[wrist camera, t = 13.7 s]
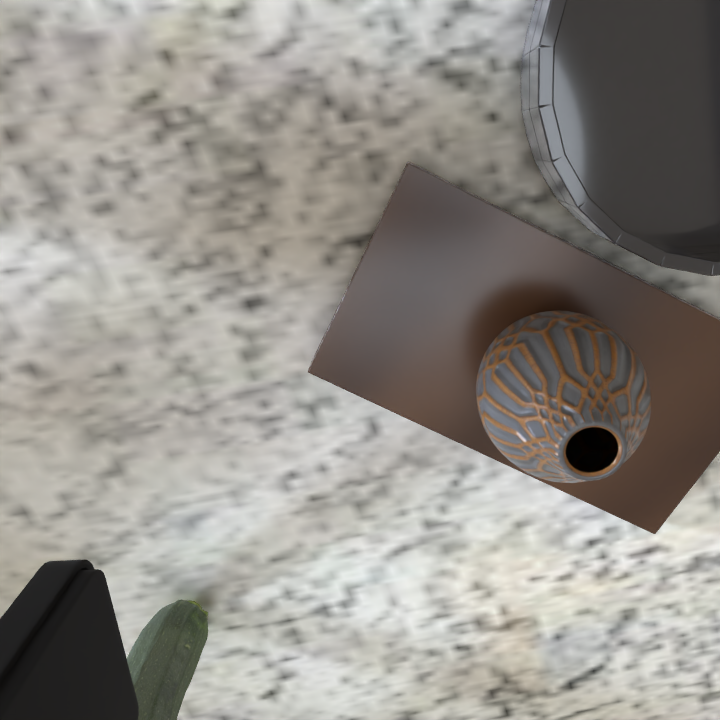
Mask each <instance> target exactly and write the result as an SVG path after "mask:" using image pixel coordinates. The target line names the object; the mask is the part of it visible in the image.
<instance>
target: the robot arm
mask: <svg viewBox="0 0 720 720" xmlns="http://www.w3.org/2000/svg"><path fill="white" fill-rule="evenodd" d="M138 716H139V706H138V701H137V697H136V693H135V689H134V685H133V682H132V678H131V674H130V670H129V666H128V662H127V659H126V655H125V651H124V647H123V643H122V639H121V636H120V632H119V628H118V624H117V620H116V616H115V613H114V609H113V605H112V601H111V597H110V593H109V590H108V586H107V582H106V578H105V575H104V573H103V572H102V571H101V570H98V569H97V570H94V567H93V565H92V564H91V562H90V561H88V560H67V561H49V562H47V563H45V564H44V565H43V566H41V567H40V569H39V570H38V571H37V572H36V574H35V575H34V576H33V578H32V579H31V580H30V581H29V583H28V584H27V585H26V587H25V588H24V589H23V590H22V592H21V593H20V594H19V596H18V597H17V598H16V599H15V601H14V602H13V603H12V605H11V606H10V607H9V608H8V610H7V611H6V612H5V614H4V615H3V616H2V617H1V619H0V720H138Z"/></svg>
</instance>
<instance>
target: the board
mask: <svg viewBox="0 0 720 720" xmlns="http://www.w3.org/2000/svg"><path fill="white" fill-rule="evenodd" d="M546 311H570V312H576V313H580V314H584V315H587V316H590V317H592V318H595V319H597V320H599V321H601V322H602V323H604V324H606V325H607V326H609V327H610V328H612V329H613V330H614V331H616V332H617V333H618V334H619V335H620V336H622V337H623V338H624V339H625V340H626V341H627V343H628V344H629V345H630V346H631V347H632V348H633V350H634V351H635V352H636V354H637V356H638V357H639V359H640V361H641V363H642V365H643V367H644V369H645V372H646V375H647V378H648V382H649V387H650V394H651V413H650V419H649V424H648V427H647V430H646V433H645V435H644V437H643V439H642V441H641V443H640V445H639V446H638V448H637V449H636V450H635V452H634V453H633V454H632V455H631V457H630V458H629V459H628V460H627V461H625V462H624V463H623V464H622V465H621V467H620V468H619V469H618V470H617V471H616V472H614V473H613V474H611V475H610V476H608V477H606V478H603V479H600V480H594V481H584V482H577V483H561V482H553V481H548V480H545V479H541V478H539V477H536V476H533V475H531V474H529V473H527V472H525V471H524V470H522V469H520V468H519V467H517V466H516V465H514V464H513V463H512V462H511V461H509V460H508V459H507V458H506V457H505V456H504V455H503V454H502V453H501V452H500V451H499V450H498V449H497V447H496V446H495V445H494V444H493V442H492V441H491V439H490V438H489V436H488V434H487V432H486V430H485V428H484V426H483V423H482V421H481V418H480V415H479V410H478V405H477V398H476V382H477V375H478V371H479V368H480V364H481V362H482V359H483V357H484V355H485V353H486V351H487V349H488V348H489V346H490V345H491V343H492V342H493V341H494V340H495V338H496V337H497V336H498V335H499V334H500V333H501V332H502V331H503V330H504V329H506V328H507V327H508V326H510V325H511V324H513V323H514V322H516V321H518V320H520V319H522V318H524V317H527V316H529V315H532V314H536V313H540V312H546ZM308 372H309V373H311V374H313V375H315V376H317V377H319V378H321V379H324V380H326V381H328V382H330V383H332V384H334V385H336V386H339V387H341V388H343V389H345V390H347V391H349V392H351V393H354V394H356V395H358V396H360V397H362V398H364V399H366V400H369V401H371V402H373V403H375V404H377V405H379V406H381V407H384V408H386V409H388V410H390V411H392V412H394V413H396V414H399V415H401V416H403V417H405V418H407V419H409V420H411V421H414V422H416V423H418V424H420V425H422V426H424V427H426V428H429V429H431V430H433V431H435V432H437V433H439V434H441V435H444V436H446V437H448V438H450V439H452V440H454V441H456V442H458V443H461V444H463V445H465V446H467V447H469V448H471V449H473V450H476V451H478V452H480V453H482V454H484V455H486V456H488V457H491V458H493V459H495V460H497V461H499V462H501V463H503V464H506V465H508V466H510V467H512V468H514V469H516V470H518V471H521V472H523V473H525V474H527V475H529V476H531V477H533V478H536V479H538V480H540V481H542V482H544V483H546V484H548V485H551V486H553V487H555V488H557V489H559V490H561V491H563V492H566V493H568V494H570V495H572V496H574V497H576V498H578V499H581V500H583V501H585V502H587V503H589V504H591V505H593V506H595V507H598V508H600V509H602V510H604V511H606V512H608V513H610V514H613V515H615V516H617V517H619V518H621V519H623V520H625V521H628V522H630V523H632V524H634V525H636V526H638V527H640V528H643V529H645V530H647V531H649V532H651V533H653V534H656V532H657V531H658V530H659V528H660V527H661V526H662V525H663V523H664V522H665V521H666V519H667V518H668V517H669V516H670V514H671V513H672V512H673V510H674V509H675V508H676V507H677V505H678V504H679V503H680V502H681V500H682V499H683V498H684V496H685V495H686V494H687V493H688V491H689V490H690V489H691V487H692V486H693V485H694V484H695V482H696V481H697V480H698V478H699V477H700V476H701V475H702V473H703V472H704V471H705V469H706V468H707V467H708V466H709V464H710V463H711V462H712V460H713V459H714V458H715V457H716V455H717V454H718V453H719V452H720V319H719V318H717V317H715V316H713V315H711V314H709V313H707V312H705V311H703V310H701V309H699V308H697V307H695V306H693V305H691V304H689V303H687V302H685V301H683V300H681V299H679V298H677V297H676V296H674V295H672V294H670V293H668V292H666V291H664V290H662V289H660V288H658V287H656V286H654V285H652V284H650V283H648V282H646V281H644V280H642V279H640V278H638V277H636V276H634V275H632V274H630V273H628V272H626V271H624V270H622V269H620V268H618V267H616V266H614V265H612V264H610V263H608V262H606V261H604V260H602V259H600V258H598V257H596V256H594V255H592V254H590V253H588V252H587V251H585V250H583V249H581V248H579V247H577V246H575V245H573V244H571V243H569V242H567V241H565V240H563V239H561V238H559V237H557V236H555V235H553V234H551V233H549V232H547V231H545V230H543V229H541V228H539V227H537V226H535V225H533V224H531V223H529V222H527V221H525V220H523V219H521V218H519V217H517V216H515V215H513V214H511V213H509V212H507V211H505V210H503V209H501V208H500V207H498V206H496V205H494V204H492V203H490V202H488V201H486V200H484V199H482V198H480V197H478V196H476V195H474V194H472V193H470V192H468V191H466V190H464V189H462V188H460V187H458V186H456V185H454V184H452V183H450V182H448V181H446V180H444V179H442V178H440V177H438V176H436V175H434V174H432V173H430V172H428V171H426V170H424V169H422V168H420V167H418V166H416V165H414V164H413V163H411V162H407V164H406V166H405V168H404V171H403V173H402V175H401V177H400V179H399V181H398V183H397V185H396V187H395V189H394V191H393V193H392V196H391V198H390V200H389V202H388V204H387V206H386V208H385V210H384V212H383V214H382V216H381V218H380V221H379V223H378V225H377V227H376V229H375V231H374V233H373V235H372V237H371V239H370V241H369V243H368V246H367V248H366V250H365V252H364V254H363V256H362V258H361V260H360V262H359V264H358V266H357V268H356V271H355V273H354V275H353V277H352V279H351V281H350V283H349V285H348V287H347V289H346V291H345V294H344V296H343V298H342V300H341V302H340V304H339V306H338V308H337V310H336V312H335V314H334V316H333V319H332V321H331V323H330V325H329V327H328V329H327V331H326V333H325V335H324V337H323V339H322V341H321V344H320V346H319V348H318V350H317V352H316V354H315V356H314V358H313V360H312V362H311V365H310V367H309V370H308Z"/></svg>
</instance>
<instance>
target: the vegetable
mask: <svg viewBox="0 0 720 720" xmlns="http://www.w3.org/2000/svg"><path fill="white" fill-rule="evenodd" d="M207 616H208V612H207V611H204V610H202V608H201V606H200V605H199V604H198V603H196V602H195V601H191V600H190V601H184V600H178V601H176V602H175V603H173V604H170V605H168V606H165V607H164V608H162V609H161V610H160V611H159V612H158V613H157V614H156V615H155V616H154V617H153V618H152V619H151V620H150V622H149V623H148V624H147V625H146V627H145V628H144V629H143V630H142V632H141V634H140V635H139V637H138V639H137V640H136V642H135V644H134V646H133V647H132V649H131V651H130V653H129V655H128V657H127V662H128V666H129V670H130V674H131V678H132V682H133V685H134V689H135V693H136V697H137V701H138V706H139V716H138V720H177V716H178V713H179V710H180V707H181V704H182V701H183V698H184V695H185V692H186V690H187V688H188V686H189V684H190V682H191V679H192V677H193V674H194V672H195V669H196V666H197V664H198V661H199V658H200V656H201V653H202V650H203V648H204V645H205V642H206V640H207V635H208V622H207Z"/></svg>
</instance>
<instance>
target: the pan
mask: <svg viewBox="0 0 720 720" xmlns="http://www.w3.org/2000/svg"><path fill="white" fill-rule="evenodd" d="M522 56H523V57H522V69H521V103H522V114H523V119H524V124H525V130H526V135H527V138H528V141H529V144H530V147H531V150H532V153H533V157H534V159H535V162H536V163H537V165H538V167H539V169H540V171H541V173H542V175H543V177H544V179H545V181H546V182H547V184H548V185H549V187H550V188H551V190H552V191H553V193H554V195H555V196H556V198H557V199H558V201H559V202H560V203H561V204H563V205H564V206H565V207H566V208H567V209H568V210H569V212H570V213H571V214H572V215H573V216H575V217H576V218H577V219H578V220H579V221H580V222H581V223H583V224H584V225H585V226H586V227H587V228H588V229H589V230H591V231H592V232H594V233H596V234H598V235H600V236H601V237H603V238H605V239H607V240H609V241H611V242H613V243H615V244H617V245H619V246H621V247H623V248H625V249H627V250H629V251H631V252H633V253H635V254H637V255H638V256H640V257H642V258H644V259H646V260H648V261H650V262H652V263H654V264H656V265H659V266H662V267H667V268H672V269H677V270H682V271H688V272H693V273H698V274H703V275H711V276H717V275H720V0H537V2H536V3H535V6H534V10H533V14H532V17H531V21H530V24H529V27H528V30H527V35H526V41H525V46H524V51H523V55H522Z"/></svg>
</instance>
